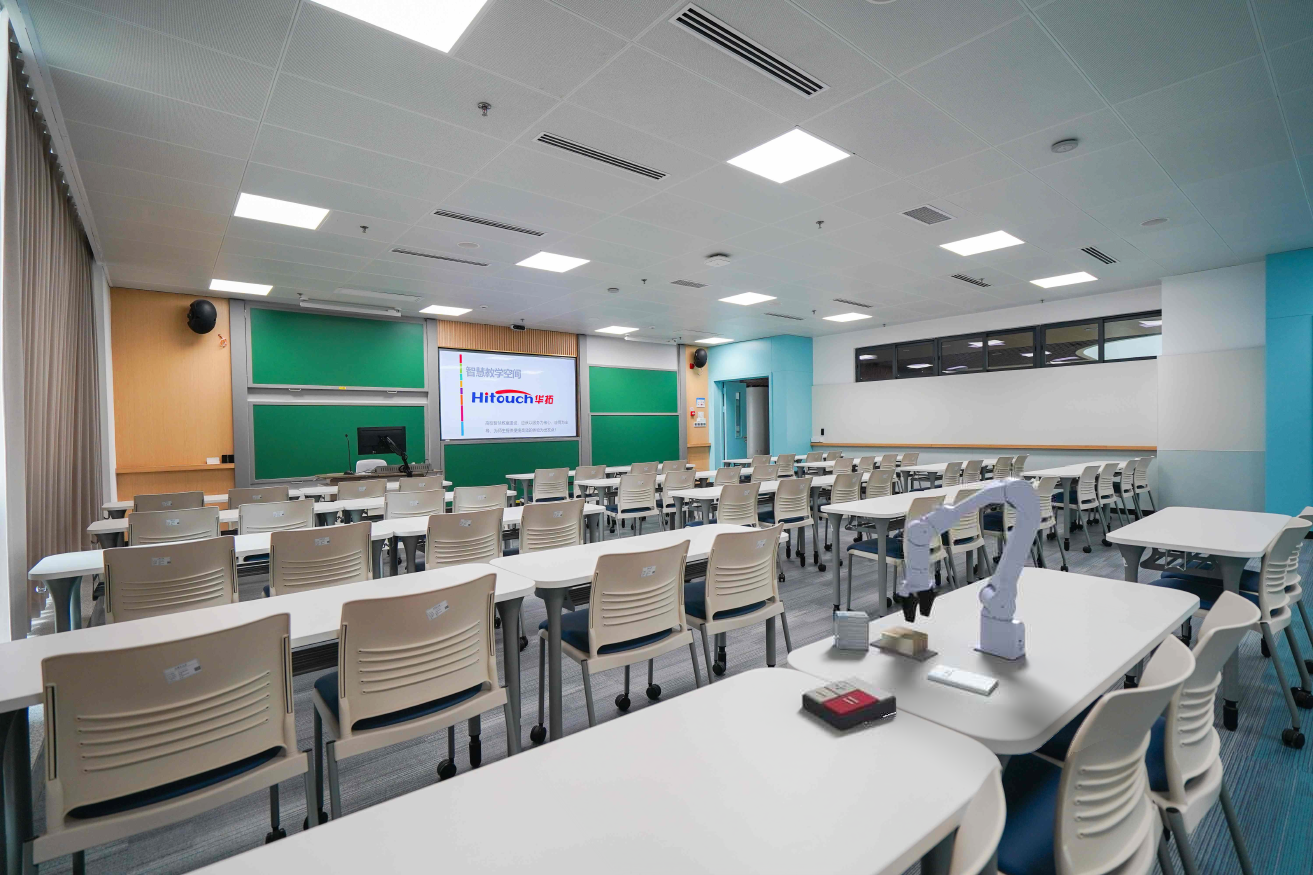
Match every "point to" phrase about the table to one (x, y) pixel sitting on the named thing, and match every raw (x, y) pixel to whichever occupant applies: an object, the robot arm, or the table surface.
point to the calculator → (849, 703)
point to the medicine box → (852, 630)
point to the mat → (917, 656)
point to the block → (905, 640)
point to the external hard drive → (963, 679)
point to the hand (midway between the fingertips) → (917, 618)
